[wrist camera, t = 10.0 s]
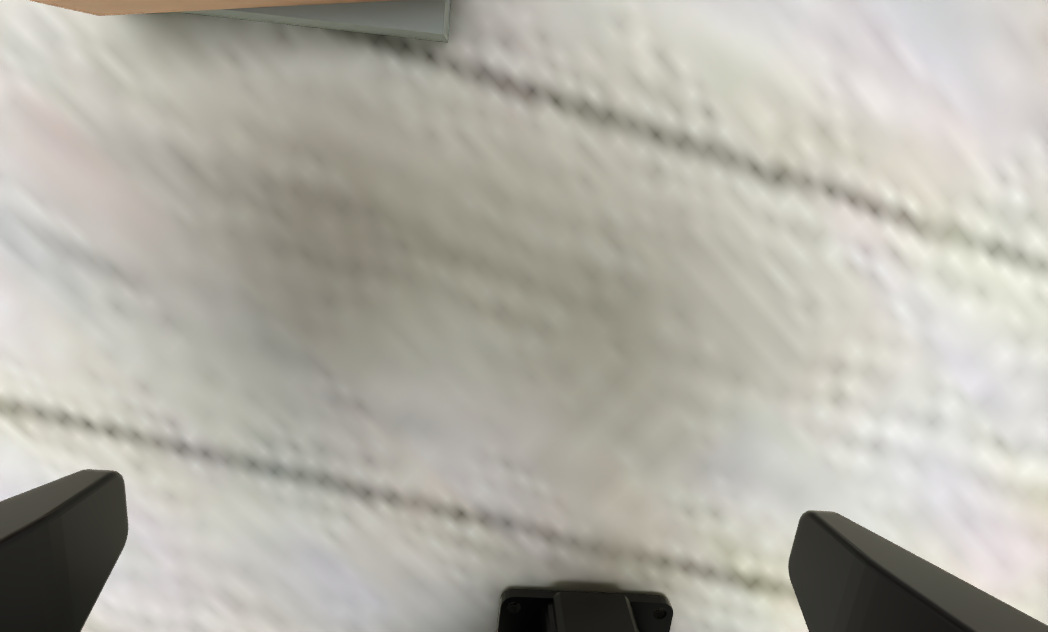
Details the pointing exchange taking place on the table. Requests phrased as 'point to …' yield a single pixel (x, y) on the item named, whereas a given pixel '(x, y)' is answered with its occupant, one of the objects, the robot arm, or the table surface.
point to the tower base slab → (357, 17)
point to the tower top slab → (176, 5)
